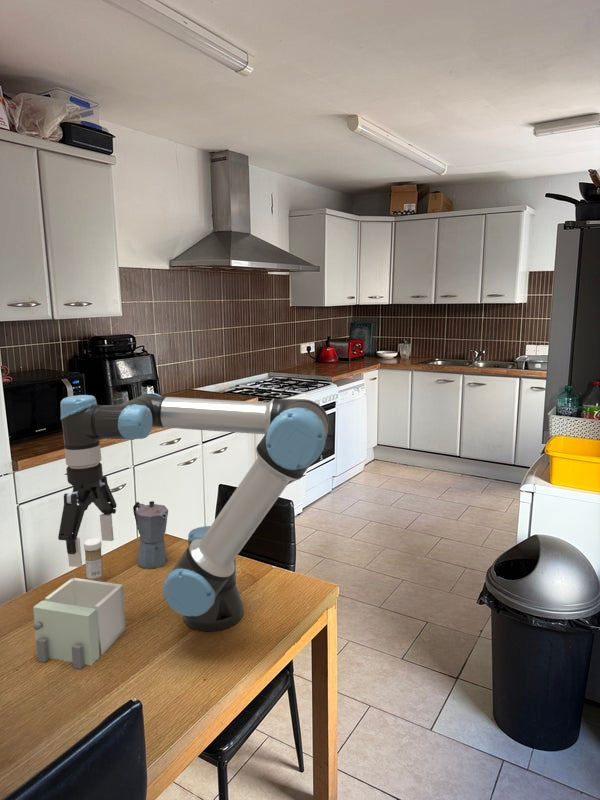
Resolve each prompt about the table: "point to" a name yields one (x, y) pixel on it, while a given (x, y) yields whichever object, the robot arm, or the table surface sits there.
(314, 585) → the table surface
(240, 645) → the table surface
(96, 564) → the sprinkles bottle
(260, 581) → the table surface
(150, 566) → the moka pot
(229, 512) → the robot arm
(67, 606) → the door
